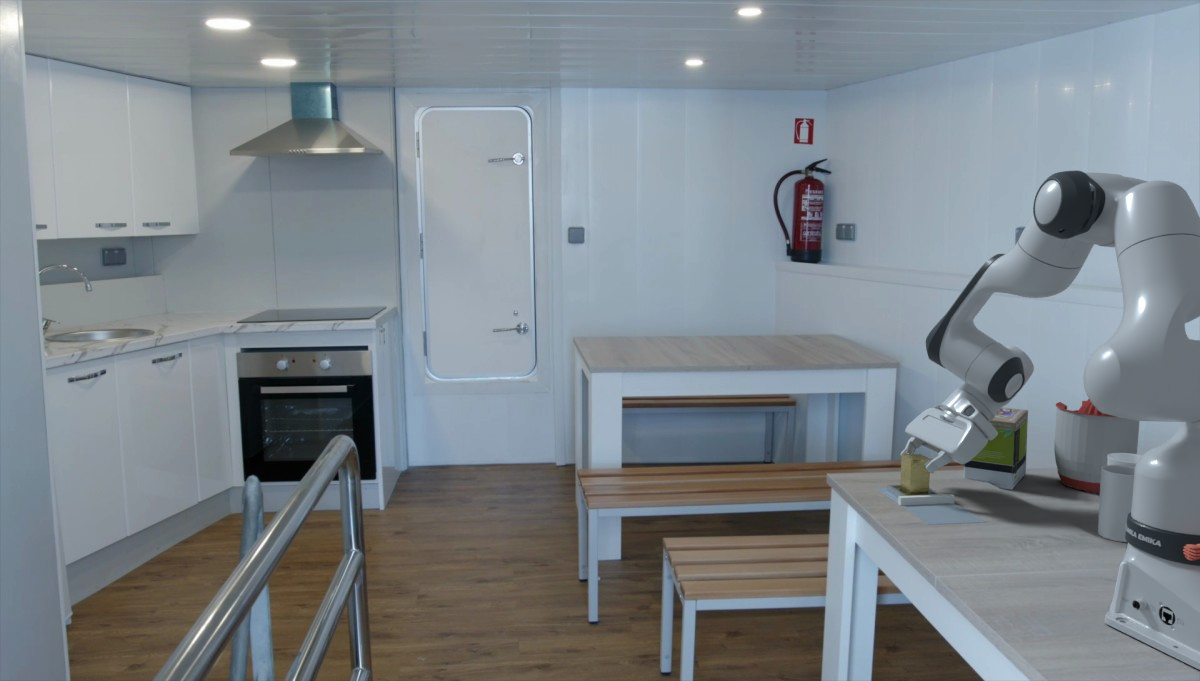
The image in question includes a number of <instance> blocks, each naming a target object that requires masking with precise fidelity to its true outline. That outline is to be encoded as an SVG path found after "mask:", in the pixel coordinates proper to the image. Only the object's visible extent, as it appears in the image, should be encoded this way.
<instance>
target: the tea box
mask: <svg viewBox="0 0 1200 681" xmlns="http://www.w3.org/2000/svg"><path fill="white" fill-rule="evenodd" d="M1028 422H1029V410H1028V409H1022V408H1021V409H1020V408H1012V407H1004V406H1003V407H1001V408H1000V409H999V410H998V412H997V413H996V415H995V417H994V418H993V419H992V420H991V421H990V423H991V424H992V426H993V427H994V428H995V429H996V430H997V432H998V435H997V436H996V437H995V438H994V439H993V440H988V442H987V444H986V446H985V447H984V448H983V449H982V450H981V451H980V452H979V453H978V454H977V455H976V456H975V457H974V458H973V459H972V460H971V461H969V462H967V463H965V464H963V479H966V480H971V481H978V482H984V483H988V484H990V485H992V486H994V487H996V488H999V489H1001V490H1002V489H1003V490H1007V491H1008V490H1013V489H1014V488H1015V487H1016V485H1017V484H1018V483H1019V482H1020V481H1021V480H1022V478H1023V477H1024V476H1025V475H1026V474H1027V454H1028V453H1027V450H1028V449H1027V448H1028V444H1027V443H1028Z"/></svg>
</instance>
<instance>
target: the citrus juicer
mask: <svg viewBox="0 0 1200 681" xmlns="http://www.w3.org/2000/svg"><path fill="white" fill-rule="evenodd" d="M1055 408H1056V412H1055V413H1056V416H1055V429H1054V431H1055V432H1054V459H1055V464H1056V469H1057V475H1058V477H1059V479H1060V481H1061V483H1062V484H1063V485H1065V486H1067V487H1068V488H1069V487H1070V488H1073V489H1077V490H1081V491H1085V492H1086V493H1090V494H1097V493H1100V480H1101V467H1102V466H1106V465H1107V455H1108V454H1111V453H1130V454H1137V455H1138V446H1139V445H1138V444H1139V432H1140V431H1139V430H1140V423H1141V421H1136V420H1131V419H1126V418H1121V417H1117V416H1112V415H1108V414H1104V413H1101V412H1100V411H1099V410H1098V409H1097V408H1096V407H1095V406H1094V405H1093V404H1092V403H1091V401H1090V400H1089V398H1088V399H1087V400H1082V401H1081V406H1080V407H1079V409H1078V410H1077V409H1076V410H1070V409H1068V405H1067V404H1065V403H1063V402H1062V401H1060V402H1056V403H1055Z"/></svg>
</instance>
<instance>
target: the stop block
mask: <svg viewBox="0 0 1200 681" xmlns="http://www.w3.org/2000/svg"><path fill="white" fill-rule="evenodd" d="M928 460H930V461H931V458H929V457H928V456H925V455H923V454H921V453H913V454H902V456H901V459H900V462H901V463H900V479H899V480H900V482H899V485H900V492H902V493H903V494H905V495H929V488H930V477H931V476H930V474H931V473H929V472H928V471H926V470H925V469H924V467H923V466H924V464H926V462H927V461H928Z"/></svg>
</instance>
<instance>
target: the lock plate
mask: <svg viewBox="0 0 1200 681" xmlns="http://www.w3.org/2000/svg"><path fill="white" fill-rule="evenodd" d="M875 490H876V491H878V492H879V493H880V494H883V495H884V496H885V497H887V498H888V499H890V500H892V501H893V502H894V503H896V504H897V505H899V506H900V507H902V508H903V509H904V510H906V511H908V512H909V513H910V514H912V515H913V516H915V517H916V518H918V519H920V520H921V521H923V522H924V523H926V524H927V525H931V526H932V525H949V524H950V525H951V524H953V525H954V524H973V523H974V524H976V523H977V524H978V523H987V521H985V520H984V519H982V518H980V517H979V516H977V515H975V514H973V513H972V512H970V511H969V510H966V509H965V508H963V507H962V506H960V505H958V504H956V503H955V496H956V495H954V494H952V493H948V494H947V493H945V494H941V495H918V496H898V498H897V497H895V496H894V495H892V494H891V493H889V492H888V491H887V487H884V488H875Z"/></svg>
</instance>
